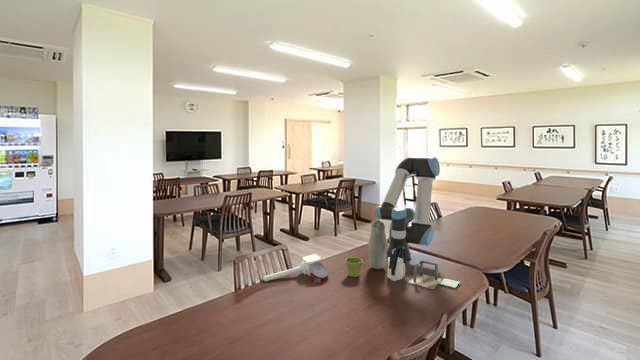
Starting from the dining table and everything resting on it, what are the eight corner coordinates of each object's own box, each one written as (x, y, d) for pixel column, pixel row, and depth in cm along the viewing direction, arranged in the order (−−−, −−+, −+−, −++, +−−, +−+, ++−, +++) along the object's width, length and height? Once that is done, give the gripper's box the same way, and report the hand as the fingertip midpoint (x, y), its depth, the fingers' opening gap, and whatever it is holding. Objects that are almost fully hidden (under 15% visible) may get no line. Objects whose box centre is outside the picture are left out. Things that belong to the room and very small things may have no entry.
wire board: (408, 283, 175) (408, 281, 175) (418, 274, 186) (418, 273, 186) (433, 290, 167) (433, 288, 167) (442, 280, 178) (442, 278, 178)
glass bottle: (365, 268, 196) (365, 221, 193) (375, 263, 204) (375, 218, 200) (379, 273, 189) (380, 224, 186) (389, 267, 197) (390, 221, 194)
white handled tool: (321, 258, 186) (265, 274, 175) (323, 273, 188) (267, 290, 177) (315, 253, 195) (261, 268, 184) (317, 267, 196) (263, 283, 185)
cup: (398, 283, 175) (398, 265, 174) (384, 275, 186) (384, 258, 185) (410, 280, 179) (411, 262, 178) (396, 272, 189) (396, 255, 188)
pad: (439, 285, 173) (439, 283, 173) (444, 280, 179) (444, 278, 179) (455, 289, 168) (455, 287, 168) (460, 283, 174) (460, 281, 174)
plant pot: (351, 279, 181) (351, 264, 180) (342, 273, 189) (342, 258, 188) (365, 276, 185) (365, 261, 184) (356, 270, 193) (356, 256, 192)
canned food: (323, 284, 187) (332, 268, 187) (324, 290, 177) (333, 273, 177) (305, 275, 186) (313, 259, 186) (305, 280, 176) (314, 263, 176)
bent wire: (412, 281, 175) (413, 265, 174) (420, 275, 184) (420, 259, 183) (430, 286, 170) (431, 269, 169) (437, 279, 178) (438, 263, 177)
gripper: (395, 243, 169) (395, 286, 172) (413, 233, 186) (412, 272, 189) (382, 240, 174) (381, 282, 176) (400, 231, 191) (399, 269, 193)
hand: (397, 277), depth 182 cm, fingers open, 9 cm apart
